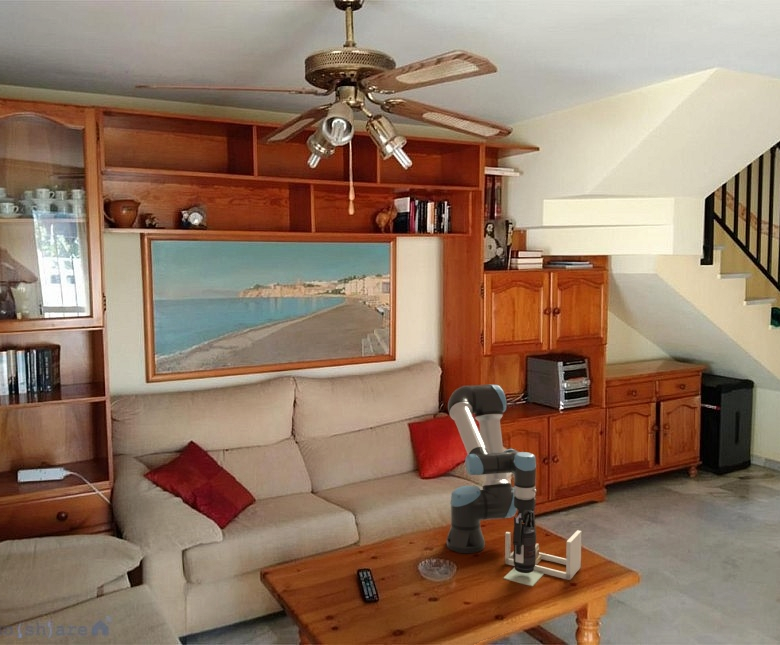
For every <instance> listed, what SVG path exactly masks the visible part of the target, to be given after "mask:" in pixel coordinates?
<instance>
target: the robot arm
mask: <svg viewBox="0 0 780 645" xmlns="http://www.w3.org/2000/svg"><path fill="white" fill-rule="evenodd" d="M507 404H508V403H507V399H506V394H505V391H504V389H503V388H502V387H501V386H500V385H499V384H489V383H488V384H479V385H475V384H474V385H462V386H460V387H458V388H456V389H455V390H454V391H453V392H452V393H451V395H450V397H449V399H448V402H447V410H448V414H449V417H450V418H451V419H452V420H453V421H454V423H455V425H456V427H457V430H458V433H459V436H460V438H461V441H462V443H463V445H464V448H465V451H466V454H467V455H466V456H465V459H464V466H465V470H466V472H467V474H468V475H469V476H470V475H471V476H482V475H483V476H484V480H485V481H484V482H483V483H482V484H481V485H482V489H481V488H480V487H479V486H476V485H462V486H458V487H456V488H455V489H454V490H453V491H452V492H451V495H450V529H449V531H448V533H447V538H446V547H447V548H448V549H449V550H450V551H452V552H455V553H459V554H474V553H480V552H482V551H483V550H484V549H485V543H486V542H485V539H484V538H485V537H484V535H483V532H482V528H481V521H486V520H499V519H508V518H513V532H514V533H513V532H512V545H513V546H514V545H516V558H515V562H519V563H523V554H524V545H522V544H523V536H524V531H525V527H526V526H527V527H533V528H535V531H537V529H536V518H535V517H536V516H535V515H536V514H535V512H536V511H535V510H536V493H537V491H538V490H537V489H536V478H537V476H536V474H537V473H536V472H537V462H536V461H537V460H536V455H535V454H533V453H531V452H525V451H521V452H520V451H518V450H516V449H513V448H508V449H506V450H504V445H503V444H504V443H503V436H502V428H501V419H502V417H503V416H504V412H506V411H507ZM473 414H474V415H473ZM476 421H477V422H478V424H479V427H478V425H477V422H476ZM507 474H513V481H514V483H513V486H512V482H511V481H509V480H508V479H507V478H508V477H507ZM516 513H517V515H516ZM515 515H516V516H515Z"/></svg>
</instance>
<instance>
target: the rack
mask: <svg viewBox="0 0 780 645" xmlns="http://www.w3.org/2000/svg"><path fill="white" fill-rule="evenodd" d="M511 536H512V532H510V531H506V532H505V536H504V537H505V539H504V540H505V541H504V542H505V545H504V546H505V547H504V548H505V549H504V551H505V552H504V554H505V555H504V559H505V561H504V562H505V563H504V564H506V565H509V566H513V567H515V565H514V560H513V553H514V550H513V551H512V552H511V550H512V549H511V548H512V546H511V545H512V541H511V540H512V538H511ZM565 548H566V550H565V554H566V556H565V558H564V557H560V556H557V555H553V554H547V553H545V552H540V551H539V555H541V560H544V561H547V562H548V561H549V562H553V563H557V564H561V565H564V566H565V571H561V570H557V569H554V568H550V567H546V566H541V565H538V564H537V565H535V567H534V571H537V572H541V573H544V575H548V576H552V577H555V578H559V579H560V578H561V579H563V580H568V581H571V580H572V579H573V577H574V576H575V575H576V573H577V572H579V570H580V569H581V568H582V567H581V566H582V530H579V529H577V530H576V531H575V532H574V533H573V534H572V535H571V536H570V537H569V538H568V539H567V540H566V547H565Z"/></svg>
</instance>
